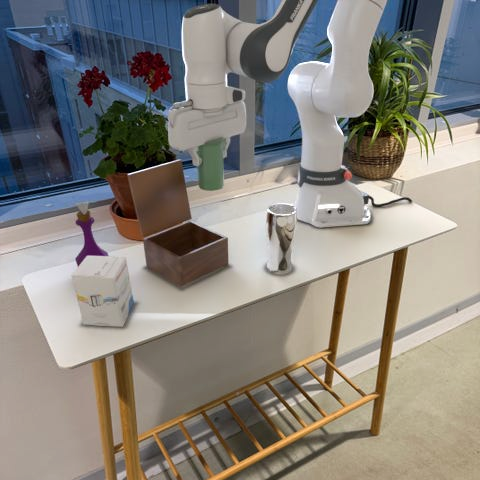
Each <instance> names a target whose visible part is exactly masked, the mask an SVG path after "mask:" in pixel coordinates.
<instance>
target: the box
mask: <svg viewBox="0 0 480 480" xmlns="http://www.w3.org/2000/svg"><path fill="white" fill-rule="evenodd" d="M142 242H143V243H142V244H143V249H144V257H145V266H146V267H148V268H149V269H151V270H153V271H155V272H156V273H158V274H159V275H161V276H163V277H165V278H166V279H168V280H170V281H171V282H172V283H174V284H177V285H178V286H179V287H184V286H186V285H188V284H190V283H193V282H194V281H196V280H199V279H201V278H203V277H205V276H207V275H209V274H211V273H213V272H215V271H217V270H220V269H222V268H224V267H226V266H229V237H227V236H225V235H223V234H221V233H219V232H217V231H215V230H212V229H210V228H208V227H206V226H204V225H202V224H200V223H197V222H195V221H193V220H187V221H185V222H182V223H180V224H177V225H174V226H172V227H169V228H166V229H164V230H161V231H159V232H156V233H153V234H151V235H148V236H145V237H143V238H142Z"/></svg>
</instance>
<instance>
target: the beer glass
mask: <svg viewBox="0 0 480 480" xmlns="http://www.w3.org/2000/svg"><path fill="white" fill-rule="evenodd" d="M266 211H267V212H266V220H265V235H266V236H265V238H266V243H267V249H268V259H267V263H266V268H267V269H268V271H270V273H271V274H273V275H280V276H281V275H282V276H283V275H287V274H289V273H291V271H292V270H293V264H292V252H293V249H294V246H295V245H294V244H295V240H296V236H297V229H298V219H297V208H296V207H294V205H293V204H290V203H274V204H270V205H269V206H268V207H267V209H266Z"/></svg>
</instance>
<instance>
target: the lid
mask: <svg viewBox="0 0 480 480" xmlns="http://www.w3.org/2000/svg"><path fill="white" fill-rule="evenodd" d="M126 176H127V180H128V184H129V188H130V193H131V197H132V202H133V206H134V210H135V214H136V218H137V222H138V223H137V224H138V227H139V232H140V235H141V236H140V237H142V238H146V237H149V236H152V235H154V234H157V233H159V232H162V231H165V230H167V229H170V228H173V227H175V226H178V225H181V224H183V223H186V222H188V221H191V220H192V219H193V218H192V212H191V208H190V202H189V196H188V191H187V183H186V179H185V178H186V177H185V172H184V167H183V162H182V159H177V160H173V161H170V162H166V163H161V164H159V165H155V166H152V167H148V168H145V169H141V170H138V171H134V172H131V173H127V175H126Z"/></svg>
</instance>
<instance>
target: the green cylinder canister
mask: <svg viewBox="0 0 480 480" xmlns="http://www.w3.org/2000/svg"><path fill="white" fill-rule="evenodd" d="M223 142H224V137H222V138H218V139H215V140H212V141H208V142H205V144H204V145H201V146H198V151H196V152H197V154H198V156H199V157H202V162H203V164H202V165H200V166H196V167H197V179H198V188H199V189H200V190H202V191H209V192H212V191H213V192H214V191H219V190H222V189H223V188H224V187H225V173H224V172H225V170H224V158H223Z"/></svg>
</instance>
